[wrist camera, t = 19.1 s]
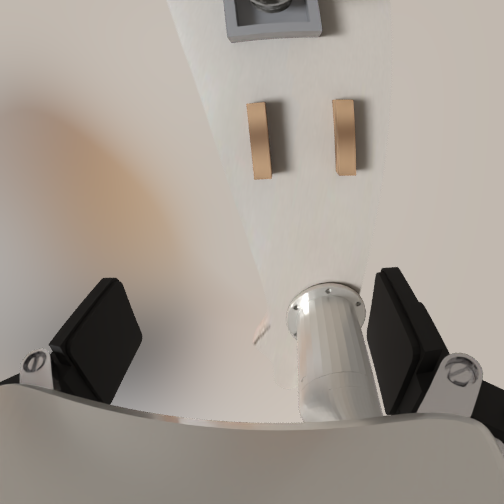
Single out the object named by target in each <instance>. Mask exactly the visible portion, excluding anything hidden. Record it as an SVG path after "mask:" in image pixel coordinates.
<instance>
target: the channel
mask: <svg viewBox="0 0 504 504" xmlns="http://www.w3.org/2000/svg"><path fill="white" fill-rule="evenodd" d="M332 103H333V117H334V134H335V157H336V172H337V173H338V174H339V175H340V176H345V175H356V146H355V121H354V104H353V100H332ZM247 114H248V123H249V132H250V142H251V152H252V161H253V171H254V180H257V179H272V167H271V155H270V144H269V133H268V123H267V113H266V103H265V102H261V103H250V104H247Z"/></svg>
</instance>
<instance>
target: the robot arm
mask: <svg viewBox="0 0 504 504" xmlns="http://www.w3.org/2000/svg"><path fill="white" fill-rule="evenodd" d="M365 315H366V310H365V306H364V303H363V300H362V298H361V297H360V295H359V294H358V293H357V292H356V291H355V290H353V289H351V288H350V287H348V286H345V285H342V284H336V283H325V284H319V285H316V286H313V287H310V288H308V289H306V290H304V291H302V292H301V293H300V294H299V295H297V296H296V297H295V298H294V300H293V301H292V302H291V304H290V305H289V308H288V311H287V317H286V321H287V327H288V330H289V332H290V334H291V335H292V336H293V337H294V338H295V339H296V340H297V354H298V397H299V398H298V399H299V412H300V416H301V418H302V420H303V422H304V423H247V422H227V421H212V420H202V419H193V418H184V417H176V416H168V415H162V414H156V413H150V412H144V411H138V410H133V409H128V408H123V407H118V406H113V405H110V404H111V402H112V400H113V398H114V396H115V394H116V392H117V390H118V388H119V386H120V384H121V382H122V380H123V378H124V375H125V374H126V372H127V370H128V367H129V366H130V364H131V361H132V360H133V358H134V356H135V353H136V352H137V350H138V348H139V346H140V344H141V341H142V333H141V331H140V328H139V326H138V323H137V321H136V318H135V316H134V313H133V311H132V308H131V306H130V303H129V300H128V298H127V295H126V292H125V289H124V287H123V284H122V283H121V282H119V280H118V279H117V278H103V279H102V280H101V281H100V282H99V283H98V284H97V285H96V286H95V288H94V289H93V290H92V291H91V292H90V293H89V295H88V296H87V297H86V298H85V299H84V300H83V302H82V303H81V304H80V305H79V306H78V308H77V309H76V310H75V311H74V313H73V314H72V315H71V316H70V318H69V319H68V320H67V321H66V323H65V324H64V325H63V326H62V328H61V329H60V330H59V332H58V333H57V334H56V335H55V337H54V338H53V340H52V341H51V342H50V343H49V346H50V347H51V349H52V351H53V352H52V353H51V354H50V353H49V352H48V350H46V349H36V350H33V351H32V352H30V353H29V354H27V355H26V356H25V357H24V359H23V360H22V362H21V365H20V373H19V374H17V375H15V376H13V377H10V378H8V379H6V380H4V381H2V382H0V504H504V390H503V389H500V388H498V387H496V386H494V385H492V384H490V383H488V382H486V381H483V380H482V378H483V372H482V368H481V366H480V364H479V363H478V361H476V360H475V359H474V358H473V357H471V356H469V355H467V354H463V353H453V354H449V352H448V350H447V348H446V346H445V344H444V342H443V340H442V338H441V336H440V334H439V332H438V331H437V329H436V327H435V325H434V323H433V321H432V319H431V317H430V315H429V314H428V312H427V310H426V308H425V307H424V305H423V304H422V303H421V302H418V300H417V298H416V297H415V295H414V293H413V291H412V289H411V288H410V286H409V284H408V283H407V281H406V280H405V278H404V276H403V274H402V273H401V271H400V269H399V268H398V267H392V268H382V270H381V272H379V273H377V274H376V278H375V285H374V292H373V299H372V305H371V311H370V317H369V323H368V328H367V341H368V345H369V348H370V352H371V356H372V359H373V363H374V367H375V371H376V375H377V379H378V383H379V387H380V391H381V395H382V399H383V404H384V408H385V412H386V414H387V415H389V416H383V413H382V409H381V406H380V402H379V398H378V393H377V389H376V385H375V381H374V377H373V373H372V369H371V365H370V361H369V357H368V353H367V349H366V346H365V343H364V338H363V335H362V331H361V327H362V325H363V323H364V320H365Z"/></svg>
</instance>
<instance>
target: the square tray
mask: <svg viewBox="0 0 504 504" xmlns="http://www.w3.org/2000/svg"><path fill="white" fill-rule="evenodd" d="M223 3H224V11H225V20H226V29H227V37H228V39H229V40H230V41H231V43H235V42H243V41H251V40H262V39H274V38H293V37H319V36H320V34H321V33H322V24H321V18H320V11H319V5H318V0H292V2H291V4H290V6H289V7H288V8H286V9H285V10H283V11H281V12H278V13H264V12H261V11H258V10H257V9H255V8H254V7H253V6H252V5H251V4H250V2H249V0H223Z"/></svg>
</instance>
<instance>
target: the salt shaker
mask: <svg viewBox="0 0 504 504" xmlns="http://www.w3.org/2000/svg"><path fill="white" fill-rule="evenodd" d="M249 2H250V4H251V5H252V6H253V7H254V8H255V9H257V10H258V11H261V12H264V13H278V12H281V11H283V10H285V9H286V8H288V7H289V6H290V4H291V2H292V0H249Z"/></svg>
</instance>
